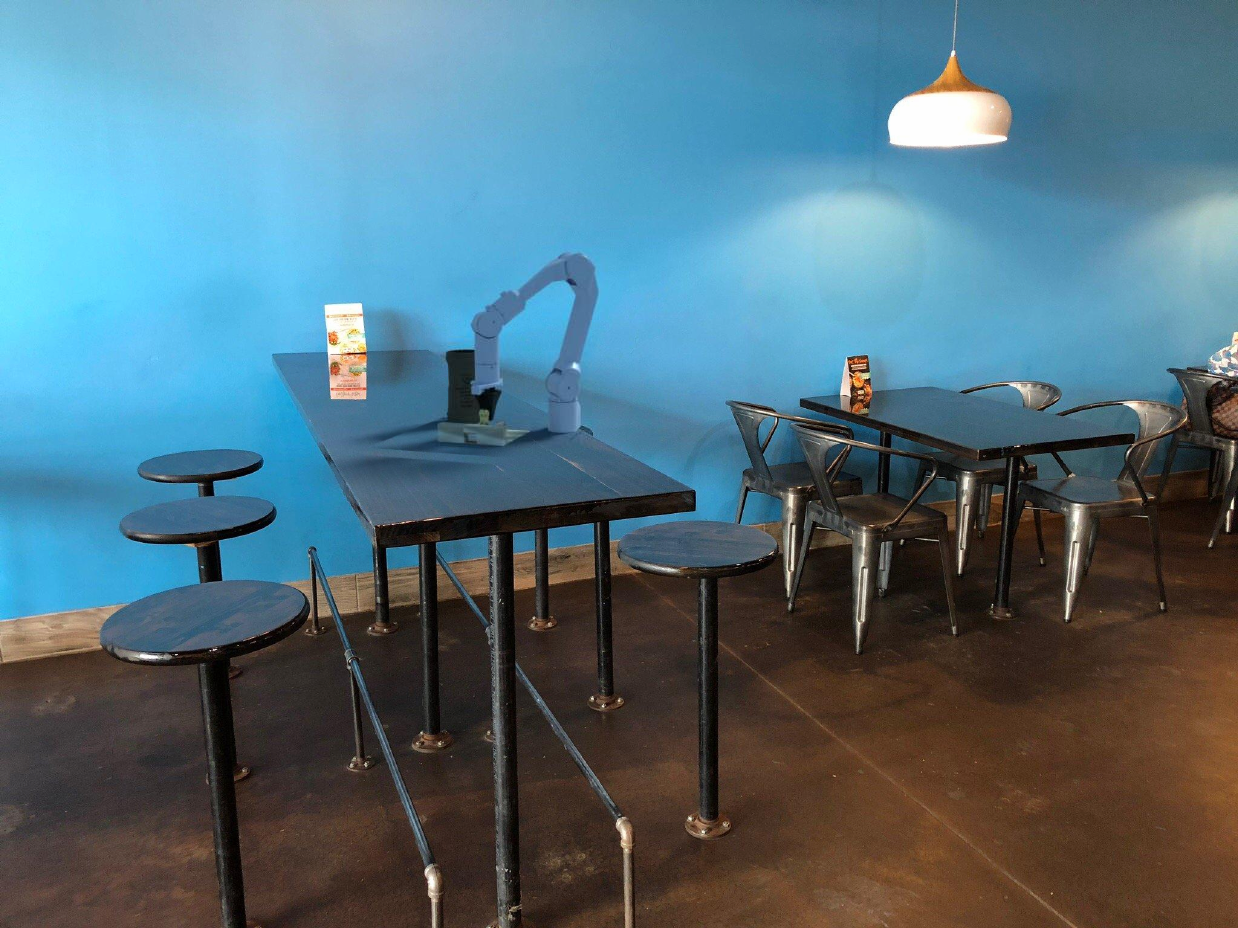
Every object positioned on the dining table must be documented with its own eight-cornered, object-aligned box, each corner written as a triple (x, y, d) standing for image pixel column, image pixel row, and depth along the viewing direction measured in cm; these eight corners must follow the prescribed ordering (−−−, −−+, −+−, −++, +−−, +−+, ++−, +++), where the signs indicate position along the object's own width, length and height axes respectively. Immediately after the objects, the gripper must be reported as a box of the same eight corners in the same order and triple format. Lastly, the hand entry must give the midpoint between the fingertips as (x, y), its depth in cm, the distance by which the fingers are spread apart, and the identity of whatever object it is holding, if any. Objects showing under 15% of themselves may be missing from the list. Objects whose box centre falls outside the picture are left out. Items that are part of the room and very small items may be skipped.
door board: (469, 433, 235) (468, 411, 234) (530, 437, 231) (530, 414, 230) (438, 447, 218) (437, 424, 217) (503, 452, 214) (502, 428, 213)
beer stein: (493, 430, 239) (491, 350, 236) (451, 432, 235) (448, 351, 232) (479, 423, 253) (477, 348, 250) (439, 425, 249) (436, 349, 246)
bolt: (481, 434, 225) (481, 407, 224) (491, 434, 225) (490, 407, 223) (467, 441, 217) (467, 413, 216) (477, 441, 217) (477, 413, 215)
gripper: (483, 359, 230) (484, 414, 233) (458, 366, 216) (460, 424, 220) (510, 360, 228) (511, 415, 231) (487, 367, 215) (488, 426, 218)
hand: (488, 420), depth 225 cm, fingers closed
